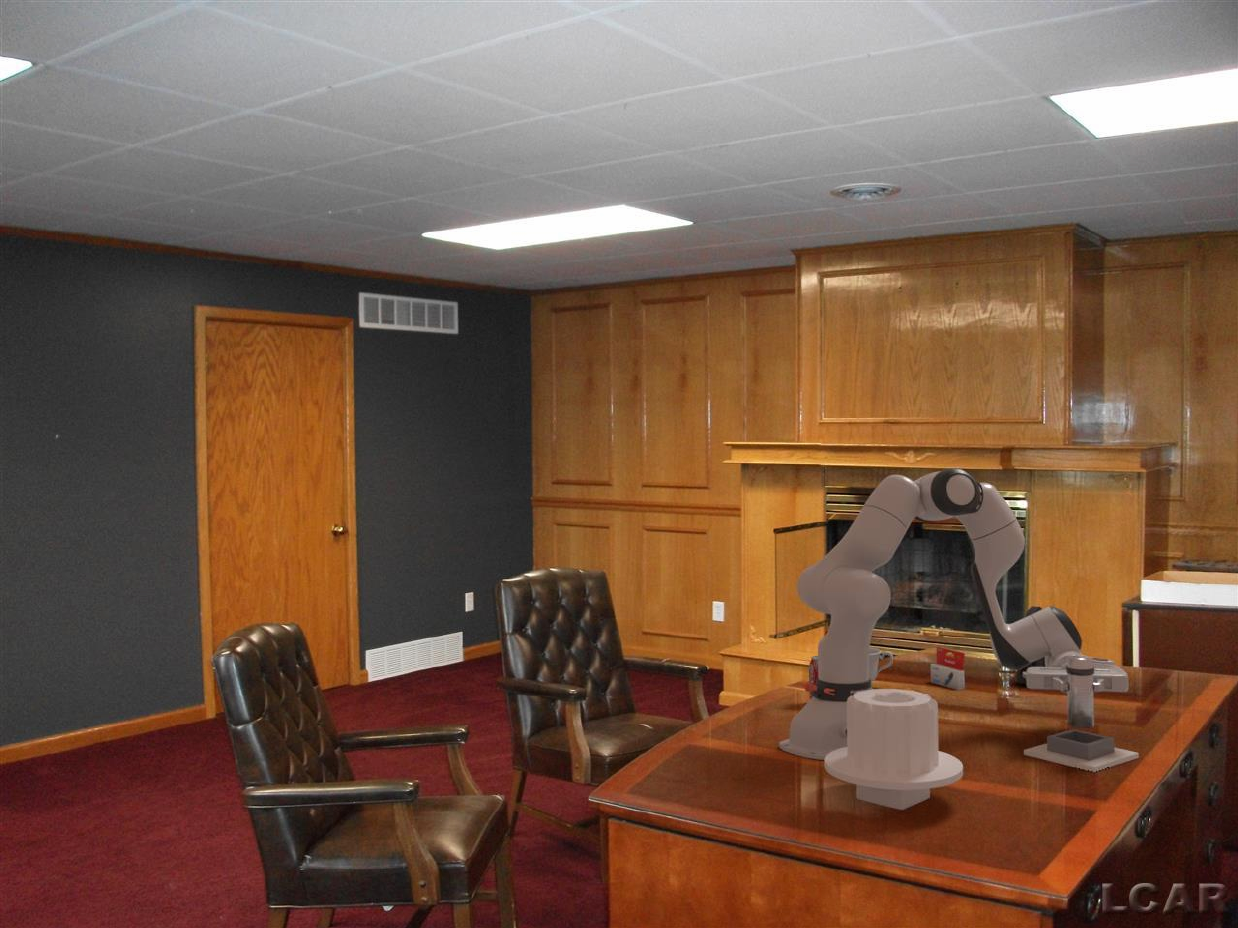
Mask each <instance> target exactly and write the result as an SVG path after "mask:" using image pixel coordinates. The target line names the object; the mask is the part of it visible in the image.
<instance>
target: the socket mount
mask: <svg viewBox="0 0 1238 928" xmlns="http://www.w3.org/2000/svg"><path fill="white" fill-rule="evenodd" d="M1115 744H1116V743H1115V737H1112V736H1106V735H1103V734H1102V735H1101V734H1098V733H1093V732H1089V731H1084V730H1079V729H1077V728H1076V729H1075V728H1072V729H1068V730H1065V731H1061V732H1057V733H1054V734H1050V735H1047V736H1046V743H1043V744H1040V745H1037V746H1033V747H1029V748H1027V749H1023V755H1024V756H1028V757H1030V758H1035V759H1040V760H1044V761H1048V762H1052V763H1056V764H1060V765H1064V766H1067V767H1072V768H1075V767H1076V769H1079V768H1080V770H1083V769H1084V771H1088V770H1089V771H1088V772H1091V771H1092V772H1091V773H1097V772H1100V771H1103V770H1106V769H1108V768H1107V767H1109V768H1112V767H1116V766H1118V765H1121V764H1124V763H1127V762H1131V761H1133V760H1137V759H1139V758H1140V757H1139V754H1140V753H1139V752H1135V751H1131V750H1127V749H1122V748H1118V747H1115V746H1116V745H1115ZM1105 768H1106V769H1105ZM1102 769H1103V770H1102ZM1099 770H1100V771H1099ZM1096 771H1097V772H1096Z"/></svg>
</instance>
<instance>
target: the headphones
mask: <svg viewBox="0 0 1238 928" xmlns="http://www.w3.org/2000/svg"><path fill="white" fill-rule="evenodd" d="M1042 609H1043V608H1042V607H1041V606H1031V607H1030V608H1029V609H1027V611H1026V613H1025V616H1024V618H1025V617H1028V616H1030V615H1031V614H1033V613H1036V612H1038V611H1040V610H1042ZM1031 616H1032V615H1031ZM1029 667H1045V657H1043V658H1041V659H1038V660H1036V661H1034V662H1032V663H1031V664H1029V665H1027V666H1026V667H1024V668H1022V669H1020V670H1016V678H1017V679H1016V680H1017V683H1018V684H1020V685H1026V686H1027V681H1026V678H1024V677H1023V675H1022V673H1023V672H1026V671H1027V669H1028V668H1029Z"/></svg>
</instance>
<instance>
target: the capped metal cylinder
mask: <svg viewBox="0 0 1238 928" xmlns="http://www.w3.org/2000/svg"><path fill="white" fill-rule="evenodd" d="M1087 656H1088V655H1085V656H1068V657H1067V665H1066V672H1067V682H1068V691H1067V694H1066V695H1067V725H1068V726H1070V727H1073V728H1076V729H1077V728H1079V729H1091V728H1094V726H1095V711H1094V707H1095V706H1094V705H1095V704H1094V701H1095V700H1094V692H1093V674H1094V667H1093V658H1094V657H1092V658H1091V656H1089V657H1087Z"/></svg>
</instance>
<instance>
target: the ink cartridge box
mask: <svg viewBox="0 0 1238 928" xmlns="http://www.w3.org/2000/svg"><path fill="white" fill-rule="evenodd" d="M949 653H951V655H953V656H949V655H947V654H949ZM965 654H966V653H965V652H961V651H959V650H957V651H956V650H953V649H948V648H945V647H940V646H936V663H930V683H932V684H936V685H939V686H942V687H945V688H948V689H949V688H950V689H954V690H956V691H961V690H965V688H966V685H965V683H966V682H965V681H966V680H965V657H966V656H965Z"/></svg>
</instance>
